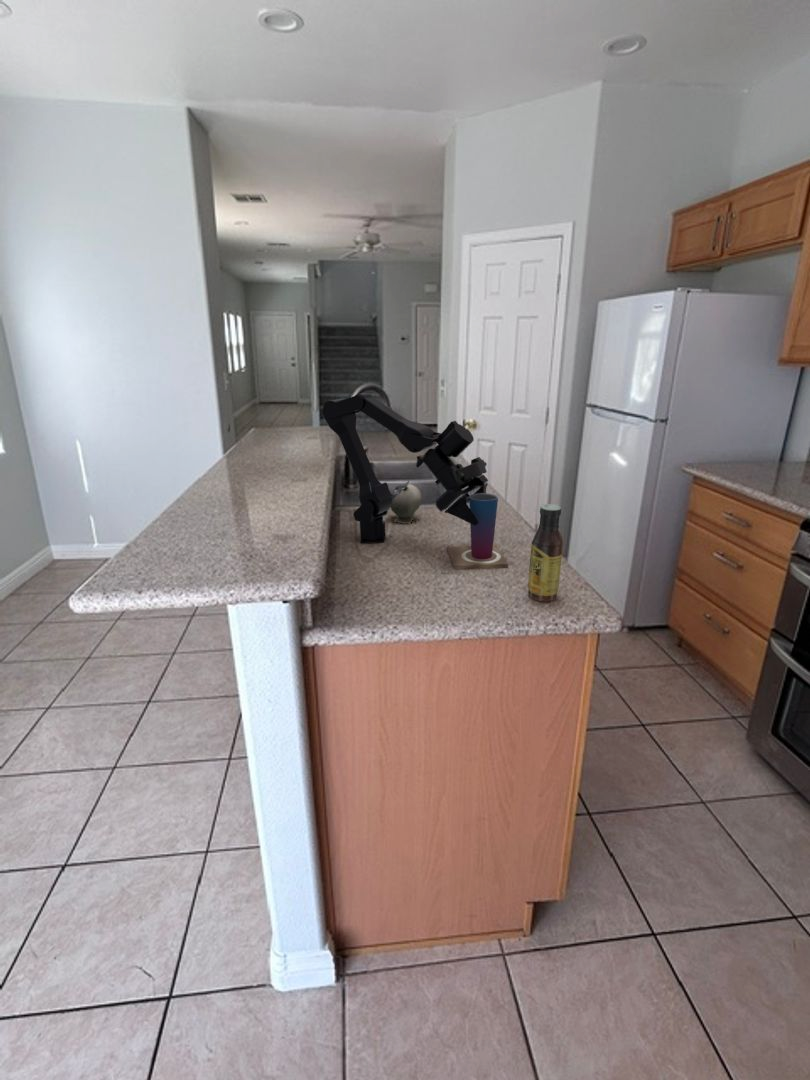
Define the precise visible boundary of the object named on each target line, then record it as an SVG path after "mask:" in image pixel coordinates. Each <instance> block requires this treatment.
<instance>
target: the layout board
mask: <svg viewBox="0 0 810 1080" xmlns="http://www.w3.org/2000/svg"><path fill="white" fill-rule="evenodd" d="M446 552H447V555H448V557H449V559H450V562H451V566H452V569H453V570H454V569H455V570H476V569H477V570H479V569H481V570H482V569H485V570H486V569H508V568H509V563H508V561H507V560H506V558H505V556H504V555H503V553H502V551H501V550H500V548H499V547H498V545H497V544H496V545H494V544H493V550H492V557H491V558H488V559H476V558H474V557H472V555H471V545H462V546H460V545H459V546H446Z"/></svg>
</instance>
